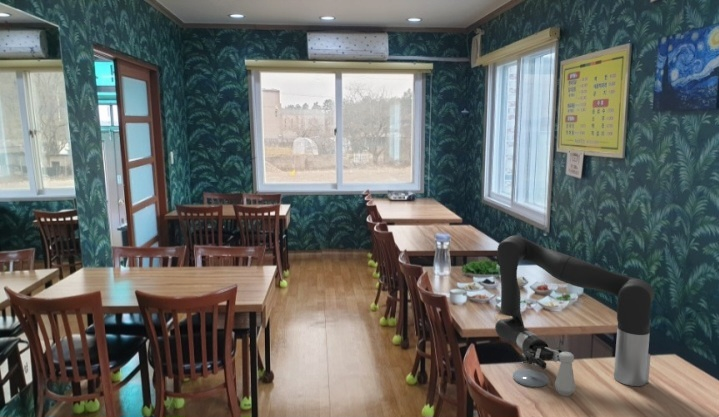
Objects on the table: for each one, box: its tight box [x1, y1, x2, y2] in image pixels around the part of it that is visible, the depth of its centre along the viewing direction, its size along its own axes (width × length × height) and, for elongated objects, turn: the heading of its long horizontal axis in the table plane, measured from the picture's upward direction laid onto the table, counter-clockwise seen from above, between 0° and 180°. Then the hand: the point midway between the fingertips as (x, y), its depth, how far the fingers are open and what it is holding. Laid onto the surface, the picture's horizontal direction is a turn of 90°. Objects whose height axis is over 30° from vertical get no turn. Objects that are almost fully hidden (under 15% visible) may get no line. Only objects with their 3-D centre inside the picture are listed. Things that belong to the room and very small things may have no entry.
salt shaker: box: [554, 351, 576, 397], centre depth 155 cm, size 6×6×13 cm
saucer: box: [512, 368, 549, 388], centre depth 164 cm, size 11×11×1 cm
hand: (557, 365), depth 159 cm, fingers open, 8 cm apart
